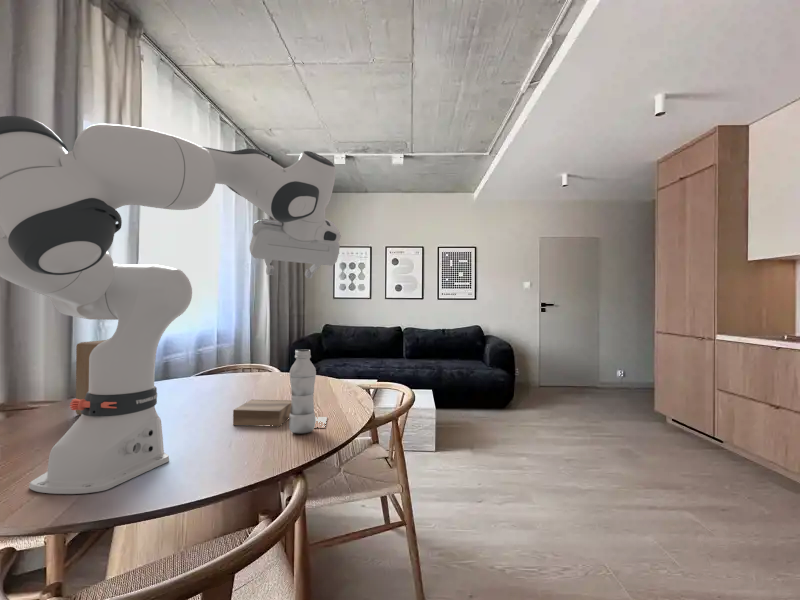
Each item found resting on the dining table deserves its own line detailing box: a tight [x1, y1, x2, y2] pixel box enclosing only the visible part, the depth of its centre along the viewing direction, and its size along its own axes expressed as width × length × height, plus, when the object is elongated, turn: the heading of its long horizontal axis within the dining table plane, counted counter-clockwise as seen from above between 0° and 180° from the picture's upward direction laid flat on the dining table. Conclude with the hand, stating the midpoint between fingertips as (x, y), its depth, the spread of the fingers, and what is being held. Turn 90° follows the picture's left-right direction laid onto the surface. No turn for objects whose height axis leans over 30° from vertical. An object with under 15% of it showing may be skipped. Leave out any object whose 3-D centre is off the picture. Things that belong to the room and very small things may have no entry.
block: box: [75, 339, 106, 416], centre depth 125 cm, size 10×10×20 cm
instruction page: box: [315, 416, 328, 428], centre depth 116 cm, size 10×8×1 cm
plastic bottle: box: [288, 348, 317, 434], centre depth 109 cm, size 6×7×20 cm
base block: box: [232, 399, 291, 427], centre depth 119 cm, size 12×12×4 cm
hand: (289, 275), depth 108 cm, fingers open, 8 cm apart
